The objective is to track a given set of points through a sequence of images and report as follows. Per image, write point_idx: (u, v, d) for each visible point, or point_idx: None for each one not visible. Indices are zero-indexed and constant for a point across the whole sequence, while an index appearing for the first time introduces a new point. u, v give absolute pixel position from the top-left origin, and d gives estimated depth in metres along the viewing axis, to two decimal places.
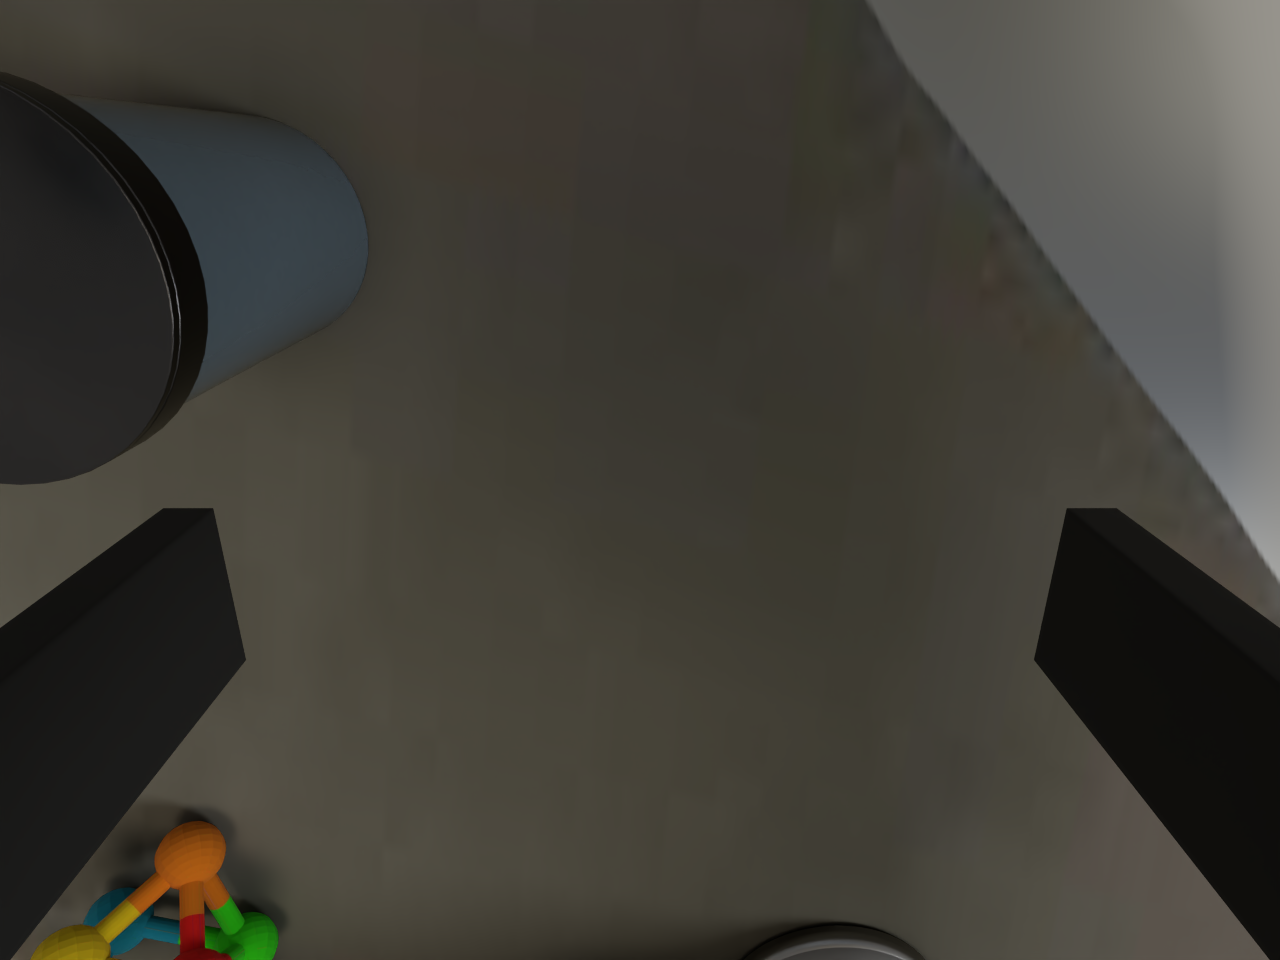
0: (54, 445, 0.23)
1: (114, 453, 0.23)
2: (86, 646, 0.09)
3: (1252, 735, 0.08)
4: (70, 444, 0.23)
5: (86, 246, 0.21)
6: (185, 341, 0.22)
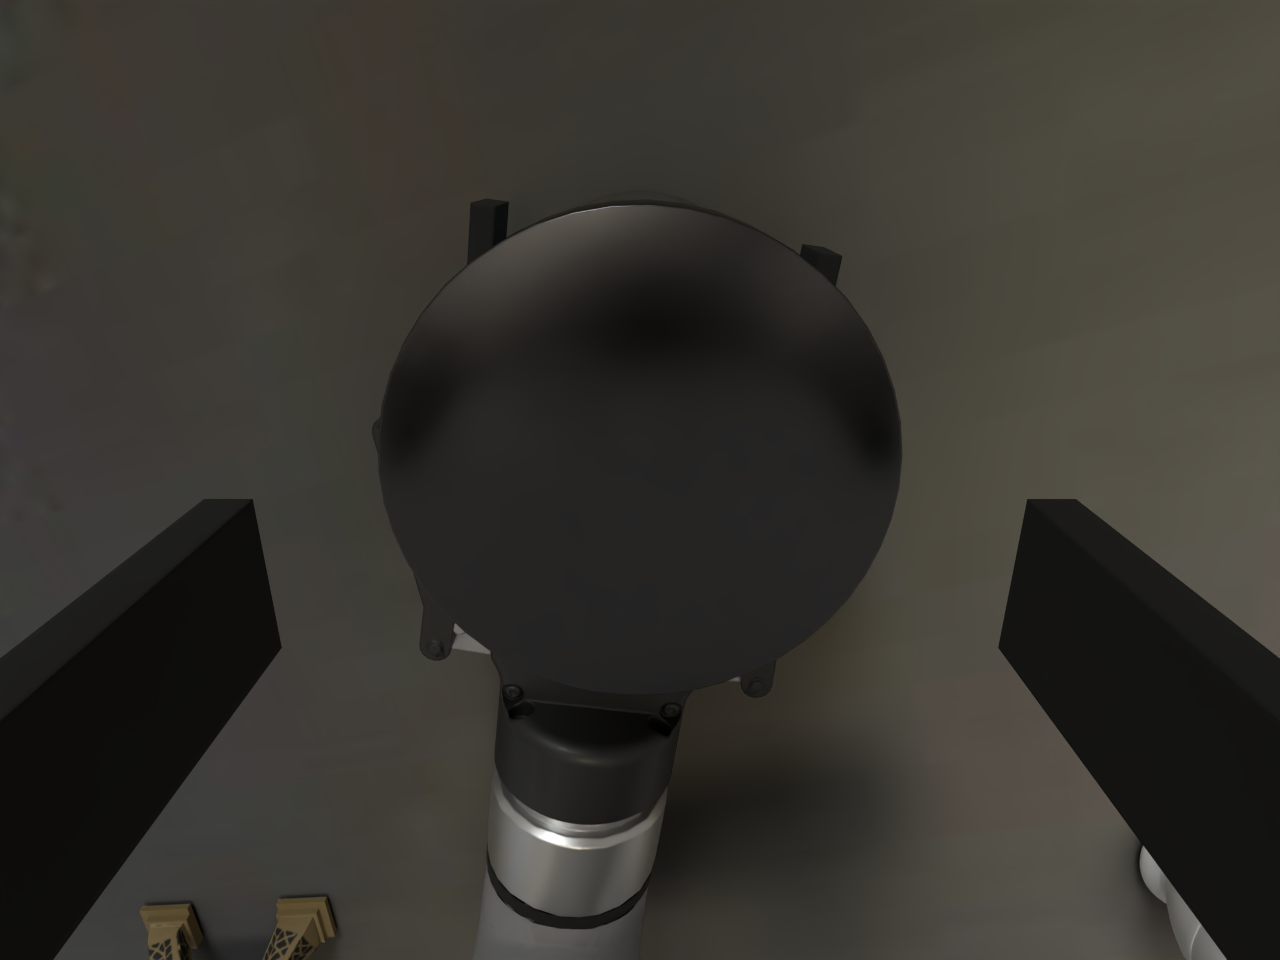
0: (801, 328, 0.16)
1: (776, 245, 0.15)
2: (141, 630, 0.10)
3: (1189, 713, 0.09)
4: (790, 308, 0.15)
5: (502, 355, 0.16)
6: (576, 210, 0.15)
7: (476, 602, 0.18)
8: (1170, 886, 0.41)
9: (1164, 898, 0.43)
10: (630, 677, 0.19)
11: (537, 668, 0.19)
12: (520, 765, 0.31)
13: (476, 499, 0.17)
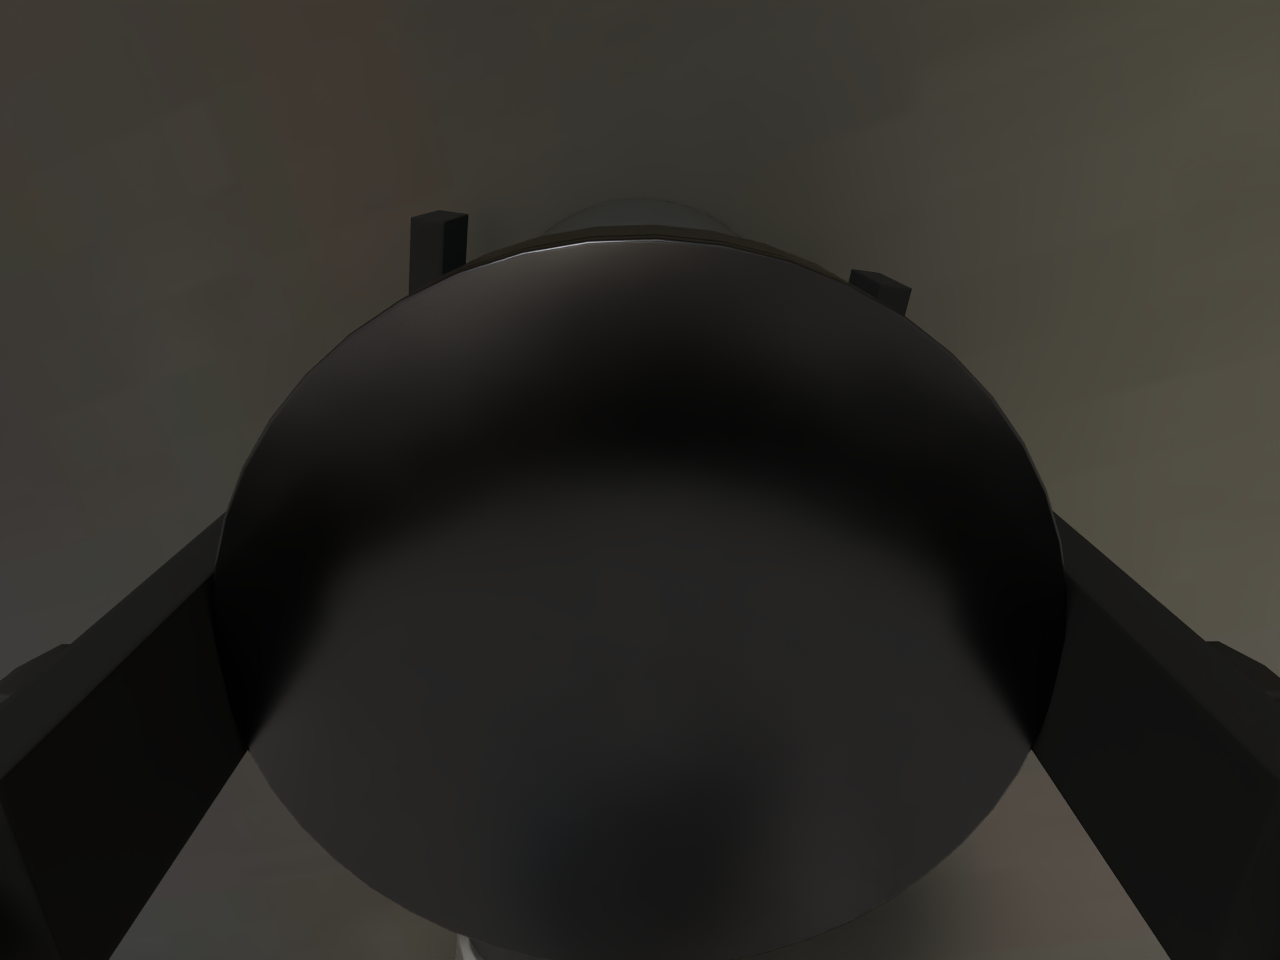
0: (912, 445, 0.09)
1: (877, 309, 0.09)
2: (205, 612, 0.10)
3: (1116, 691, 0.09)
4: (895, 413, 0.09)
5: (409, 487, 0.09)
6: (532, 245, 0.09)
7: (385, 847, 0.12)
8: None
9: None
10: (625, 946, 0.12)
11: (483, 934, 0.12)
12: None
13: (377, 703, 0.11)
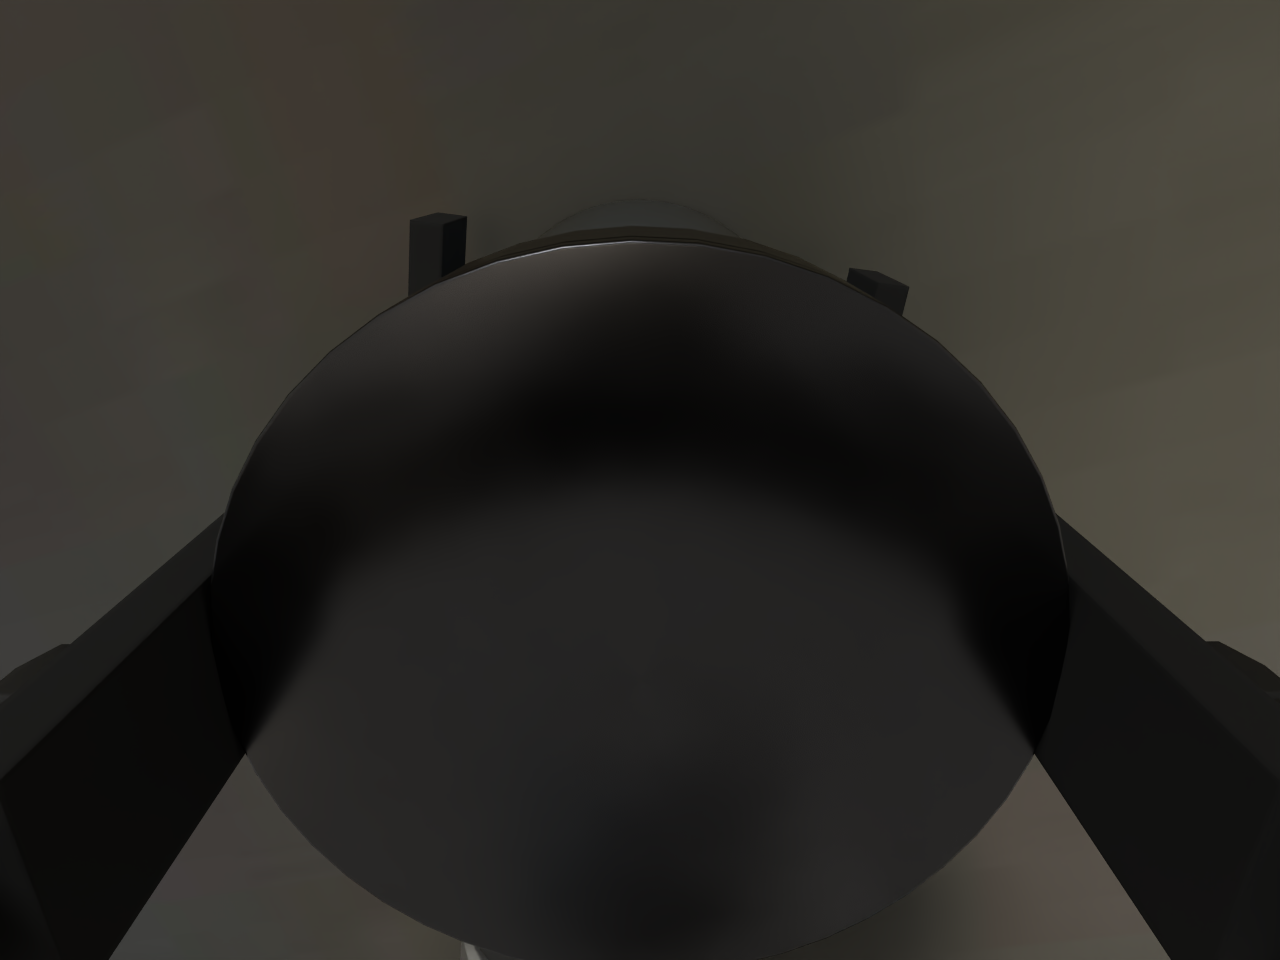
0: (290, 618, 0.10)
1: (229, 707, 0.10)
2: (205, 612, 0.10)
3: (1116, 691, 0.09)
4: (280, 645, 0.10)
5: (588, 891, 0.12)
6: None
7: (968, 769, 0.11)
8: None
9: None
10: (1004, 501, 0.09)
11: (1052, 642, 0.10)
12: None
13: (799, 836, 0.11)
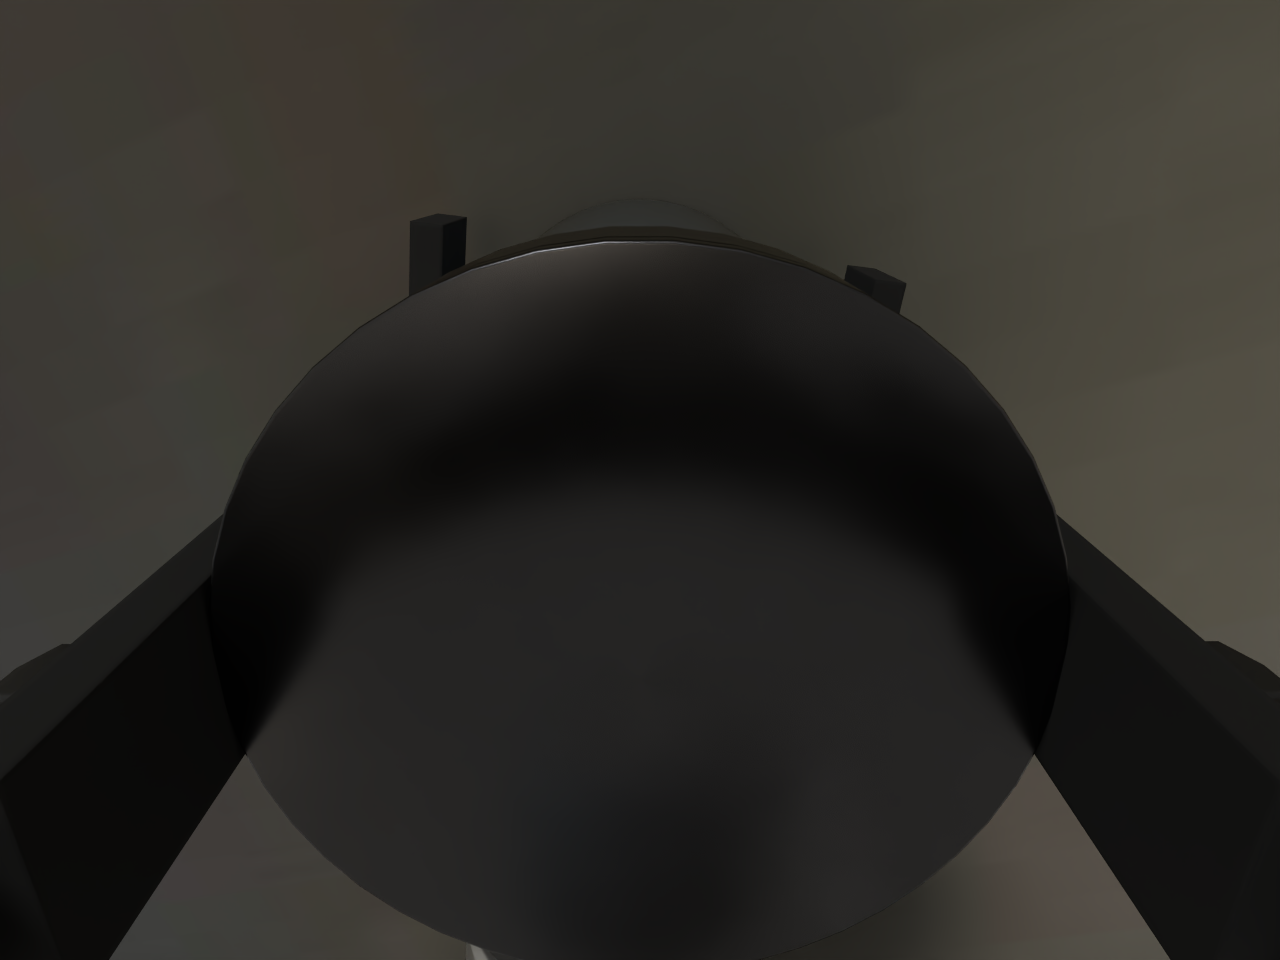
0: (747, 913, 0.12)
1: (859, 921, 0.12)
2: (205, 612, 0.10)
3: (1116, 690, 0.09)
4: (777, 910, 0.12)
5: (927, 586, 0.10)
6: None
7: (529, 328, 0.09)
8: None
9: None
10: (266, 522, 0.10)
11: (339, 369, 0.09)
12: None
13: (729, 434, 0.09)
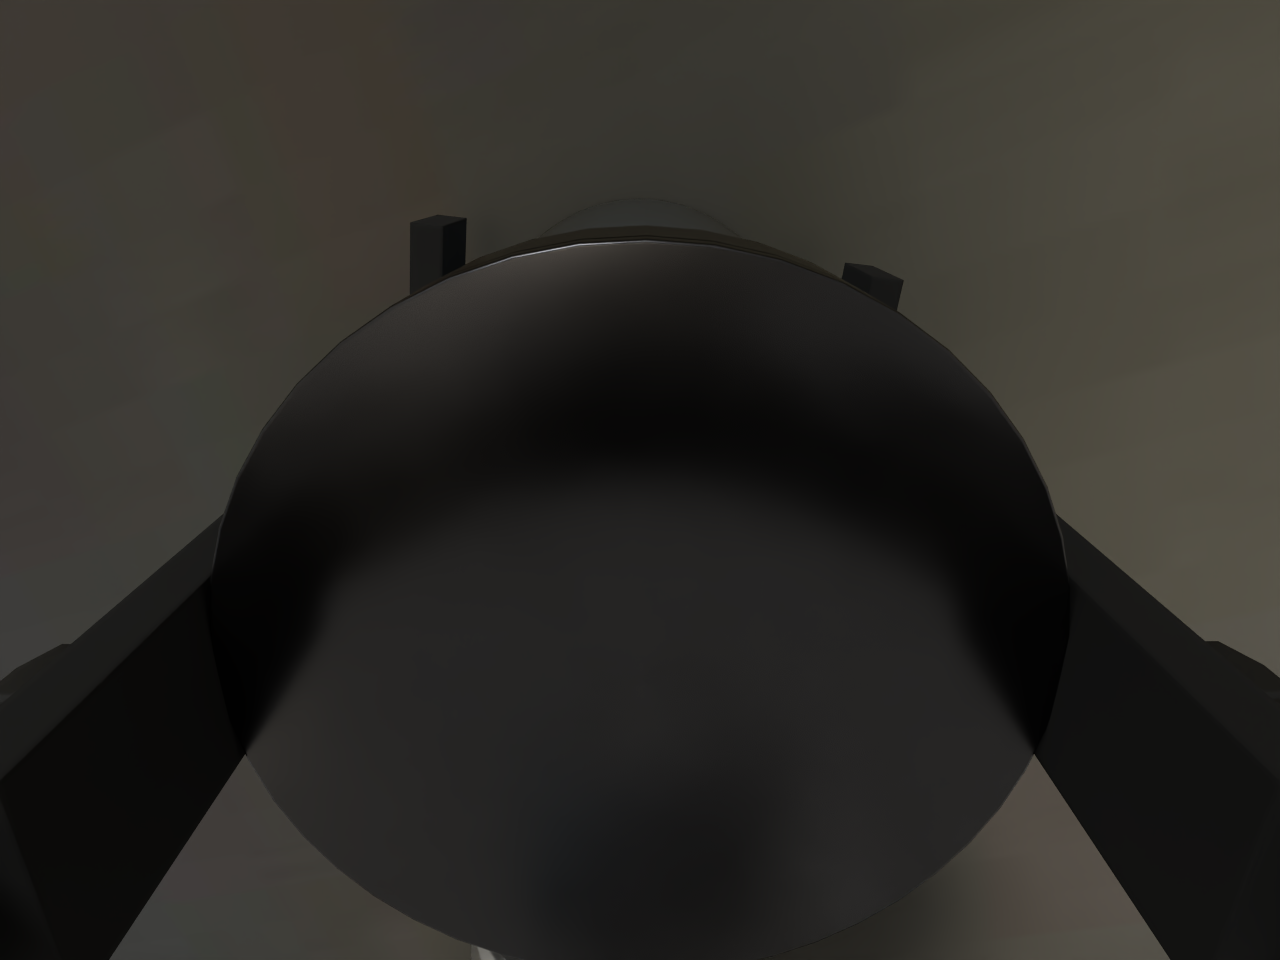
0: (874, 411, 0.09)
1: (813, 279, 0.08)
2: (205, 612, 0.10)
3: (1116, 690, 0.09)
4: (851, 381, 0.09)
5: (381, 524, 0.10)
6: (462, 269, 0.09)
7: (421, 878, 0.12)
8: None
9: None
10: (674, 950, 0.12)
11: (532, 953, 0.12)
12: None
13: (388, 740, 0.11)
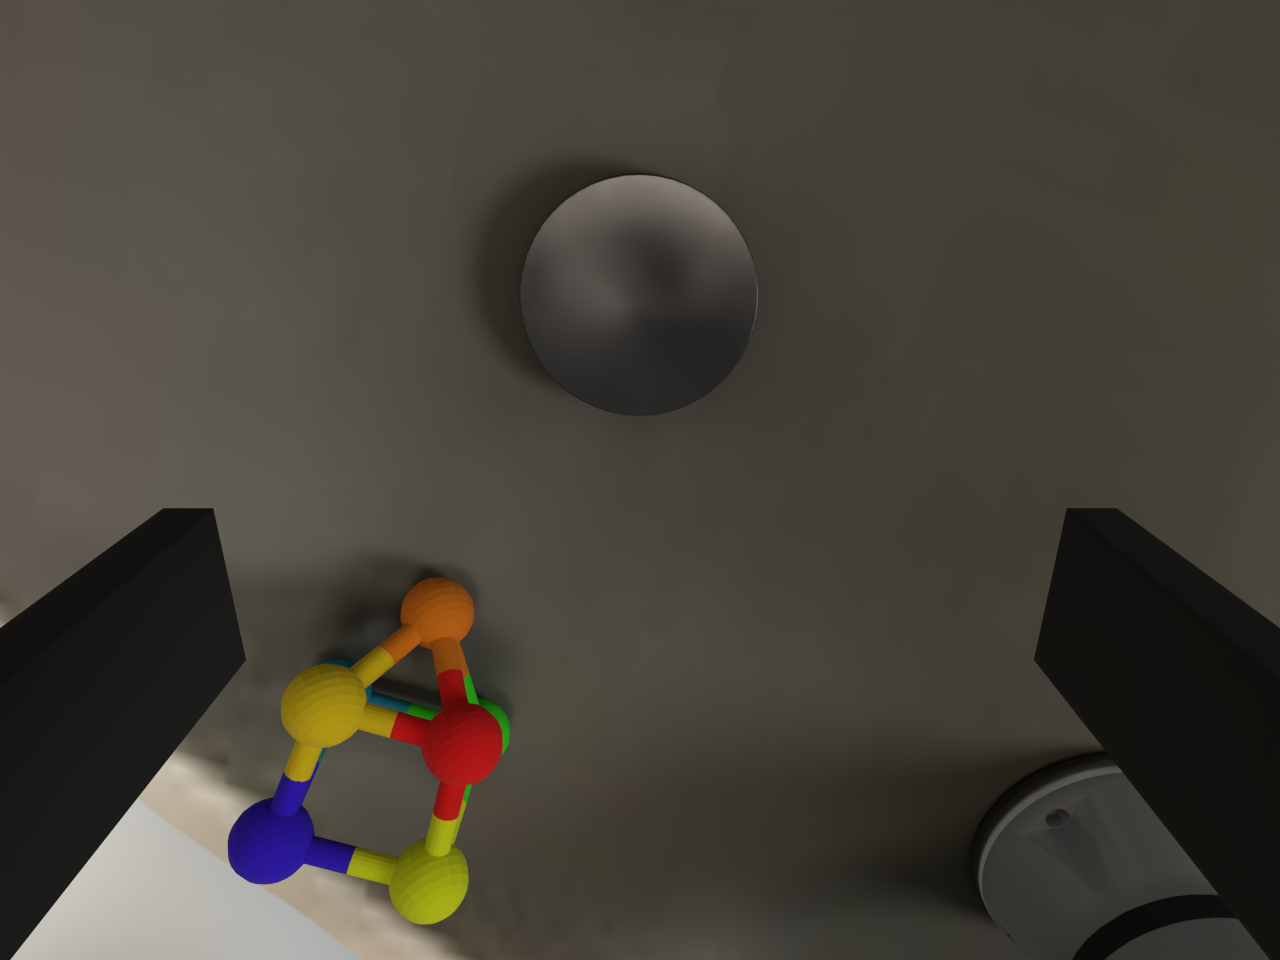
0: (698, 219, 0.35)
1: (680, 184, 0.35)
2: (86, 646, 0.09)
3: (1252, 735, 0.08)
4: (691, 211, 0.35)
5: (570, 251, 0.36)
6: None
7: (572, 375, 0.38)
8: None
9: None
10: (649, 405, 0.39)
11: (605, 406, 0.39)
12: None
13: (566, 322, 0.37)
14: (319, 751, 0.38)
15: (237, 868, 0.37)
